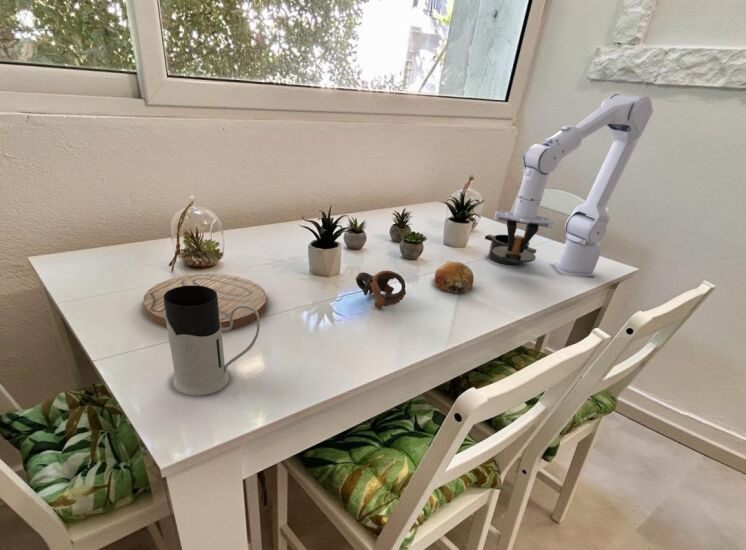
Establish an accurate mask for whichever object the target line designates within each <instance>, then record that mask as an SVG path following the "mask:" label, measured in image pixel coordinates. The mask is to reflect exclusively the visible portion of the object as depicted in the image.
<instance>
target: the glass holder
mask: <svg viewBox="0 0 746 550" xmlns="http://www.w3.org/2000/svg"><path fill="white" fill-rule="evenodd" d="M164 303H165V318H166V324H167V327H166V329H167V330H166V331H167V336H168V342H169V348H170V355H171V360H172V366H173V372H174V377H173V381H172V385H173V387H174V389H175V390H176V391H177V392H179V393H181V394H184V395H187V396H193V397H195V396H200V397H201V396H207V395H211V394H215V393H217V392H219V391H221V390H222V389H224V388H225V387H226V386H227V385H228V383H229V378H230V377H229V374H228V367H229V366H230V365H232V364H233V363H234V362H236V361H237V360H238V359H240V358H241V357H243V356H244V355H245V354H247V353H248V352H249V351H250V350H251V349H252V348H253V347H254V344H255V343H256V341H257V339H258V336H259V332H260V328H261V319H260V317H259V314H258V312H257V310H256V309H255V308H253V307H252V306H249V305H244V304H242V305H238V306H236V307H235V308H234V309H233V310H232V312H231V315H230V326H229V327H226V328H222V327H221V323H220V319H219V308H218V297H217V293H216V291H214V290H213V289H211V288H208V287H204V286H196V285H190V286H181V287H177V288H173V289H171V290H169V291H167V292H166V293H165V294H164ZM239 308H248V309H251V310H252V311H254V312H255V314H256V316H257V319H256V320H257V324H256V331H255V335H254V337H253V339H252V340H251V342H250V344H249V345H248V346H247V347H246V348H245V349H244V350H243V351H241V352H240V353H239V354H237V355H236V356H234V357H233V358H231V359H230V360H228V361H227V362H225V352H224V341H223V332H228V331H230V330H232V329H231V328H232V325H233V314H234V312H235V311H236V310H238V309H239Z"/></svg>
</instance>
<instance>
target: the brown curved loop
mask: <svg viewBox="0 0 746 550" xmlns="http://www.w3.org/2000/svg"><path fill="white" fill-rule="evenodd" d="M394 279H396V280H397V281H398V283H399V284H400V285H401V288H400V290H399V291H398V292H395V293H393V292H394V290H395V288H394V287H393V286H392V285H390V284H388V283H389V281H390V280H394ZM355 282H356V285H357V286H358V287H359V289H360V290H361V291H362V293H363V296H367V295H368V294H369V295H370V296H371V295H372V294H373V295H374V296H375V298H376V301H375V302H374V307H375V308H377V309H378V310H381V309H382V308H383V307H391V306H393V305H397V304H399V303H400V301H402V300H403V299H404V298H405V296H406V295H407V290H406V286H407V285H406V282H405V279H404V278H403V276H401V275H400V274H399V273H397V272H395V271H392V270H381V271H379V272H378V273H376V274H374V275H372V274H370V273H368V272H359V273H358V274H357V276H356V277H355ZM381 292H383V293H385V294H384V295H383V294H382V293H381Z"/></svg>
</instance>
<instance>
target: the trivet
mask: <svg viewBox="0 0 746 550" xmlns="http://www.w3.org/2000/svg"><path fill="white" fill-rule="evenodd" d="M190 285H196V286H204V287H208V288H211V289H213V290H214V291H216V293H217V297H218V308H219V319H220V323H221V327H222V328H226V327H229V326H230V315H231V312H232V310H233V309H234V308H235V307H236V306H238V305H242V304H244V305H249V306H252V307H253V308H255V309H256V310H257V312H258V314H259V318H260V317H262V315H263V314H264V312H266V310H267V305H268V303H267V302H268V298H267V293H266V290H265V289H264V288H263V287H262V286H261V285H260V284H258V283H256V282H254V281H253V280H251V279H247V278H244V277H241V276H237V275H231V274H224V273H195V274H187V275H181V276H177V277H173V278H169V279H166V280H164V281H161V282H159V283H157V284H155V285H153V286H152V287H150V288H149V289H148V290H147V291H146V293H145V294H144V295H143V301H142V304H143V308H144V309H143V310H144V312H145V315H146V316H147V317H148V319H149V320H151V321H152V322H154V324H156V325H159V326H161V327H164V328H167V324H166V318H165V303H164V294H165V293H166V292H167V291H169V290H171V289H173V288H177V287H181V286H190ZM256 320H257V316H256V314H255V312H254V311H252V310H251V309H248V308H239V309H238V310H236V311H235V312H234V314H233V325H232V328H231V329H230V330H233V329H237V328H240V327H242V326H243V327H244V326H245V325H248V324H251V323H252V322H254V321H256Z"/></svg>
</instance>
